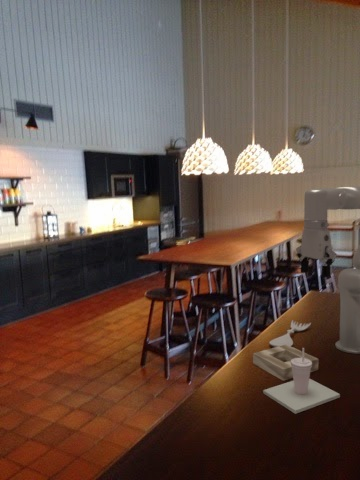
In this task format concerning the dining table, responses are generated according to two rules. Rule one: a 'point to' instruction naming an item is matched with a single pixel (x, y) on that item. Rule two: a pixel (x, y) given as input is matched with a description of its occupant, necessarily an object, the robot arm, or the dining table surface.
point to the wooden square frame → (273, 361)
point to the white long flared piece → (288, 335)
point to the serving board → (301, 396)
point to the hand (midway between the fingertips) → (315, 274)
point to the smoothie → (301, 373)
